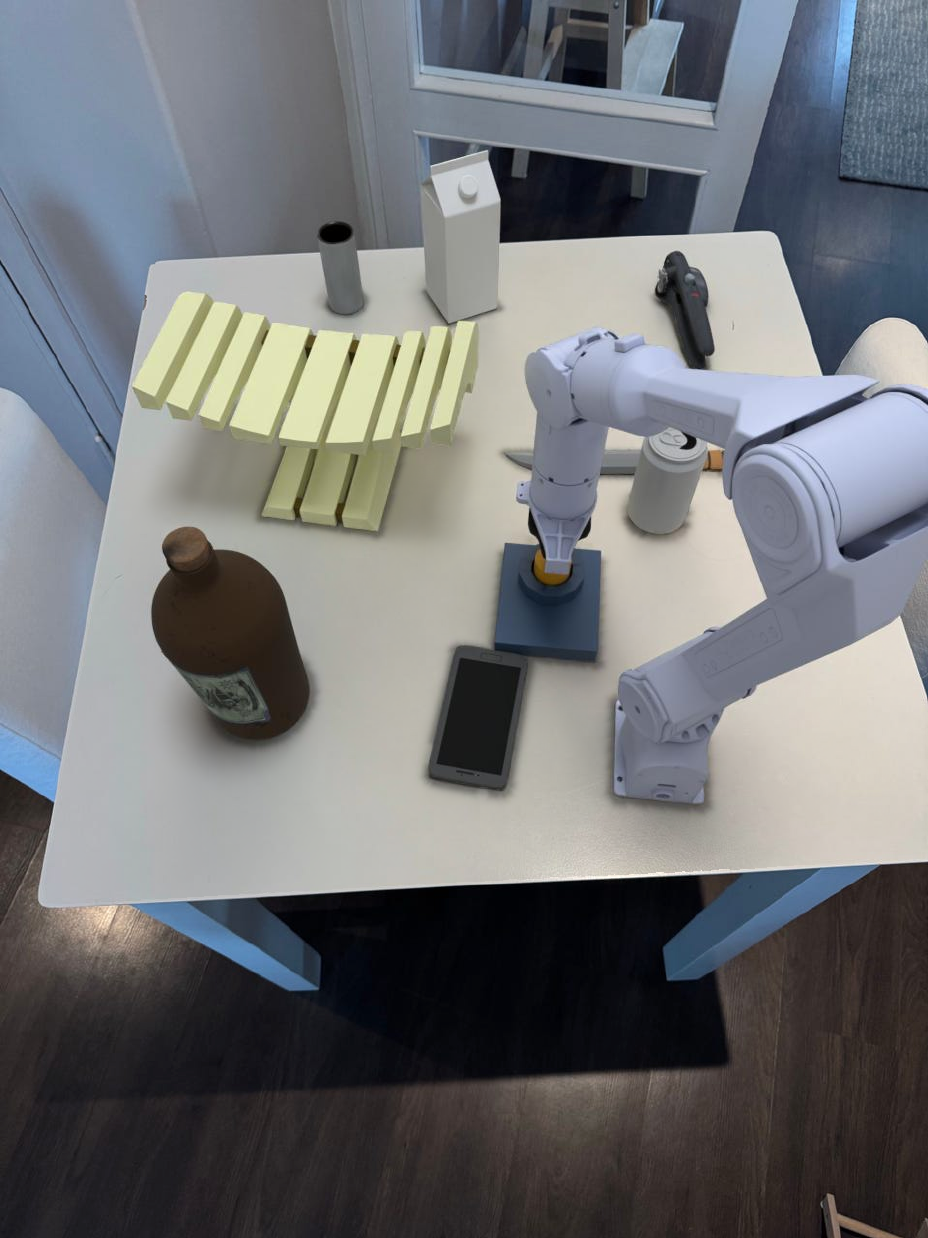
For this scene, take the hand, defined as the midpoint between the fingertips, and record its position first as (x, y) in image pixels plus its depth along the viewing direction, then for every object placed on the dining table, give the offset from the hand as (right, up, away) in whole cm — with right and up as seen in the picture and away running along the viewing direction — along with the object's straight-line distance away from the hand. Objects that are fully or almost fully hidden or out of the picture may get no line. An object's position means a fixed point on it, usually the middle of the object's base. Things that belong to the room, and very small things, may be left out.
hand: (554, 553), depth 81 cm
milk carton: (-9, +35, +29) cm, 47 cm away
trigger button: (0, -1, +3) cm, 3 cm away
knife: (+11, +11, +14) cm, 21 cm away
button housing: (0, -5, +5) cm, 7 cm away
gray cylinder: (-24, +35, +29) cm, 51 cm away
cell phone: (-7, -16, -2) cm, 17 cm away
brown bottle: (-28, -14, 0) cm, 32 cm away
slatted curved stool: (-23, +11, +14) cm, 29 cm away
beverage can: (+12, +5, +11) cm, 17 cm away
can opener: (+20, +31, +26) cm, 45 cm away
